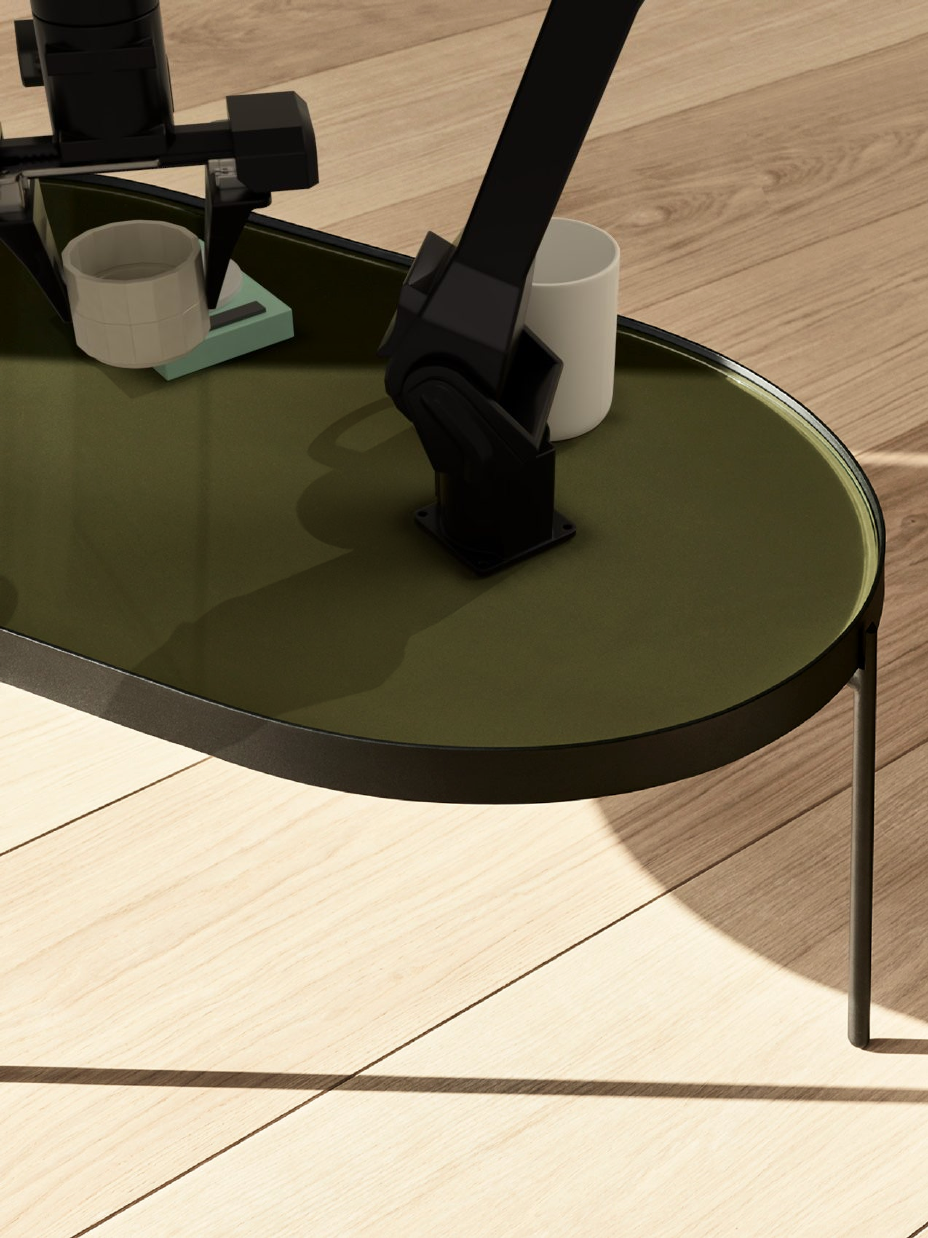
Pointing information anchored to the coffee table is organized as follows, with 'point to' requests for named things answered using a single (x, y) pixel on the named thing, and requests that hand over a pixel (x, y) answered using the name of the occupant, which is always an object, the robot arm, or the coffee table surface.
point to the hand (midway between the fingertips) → (141, 312)
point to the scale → (236, 324)
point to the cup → (577, 320)
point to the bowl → (137, 292)
